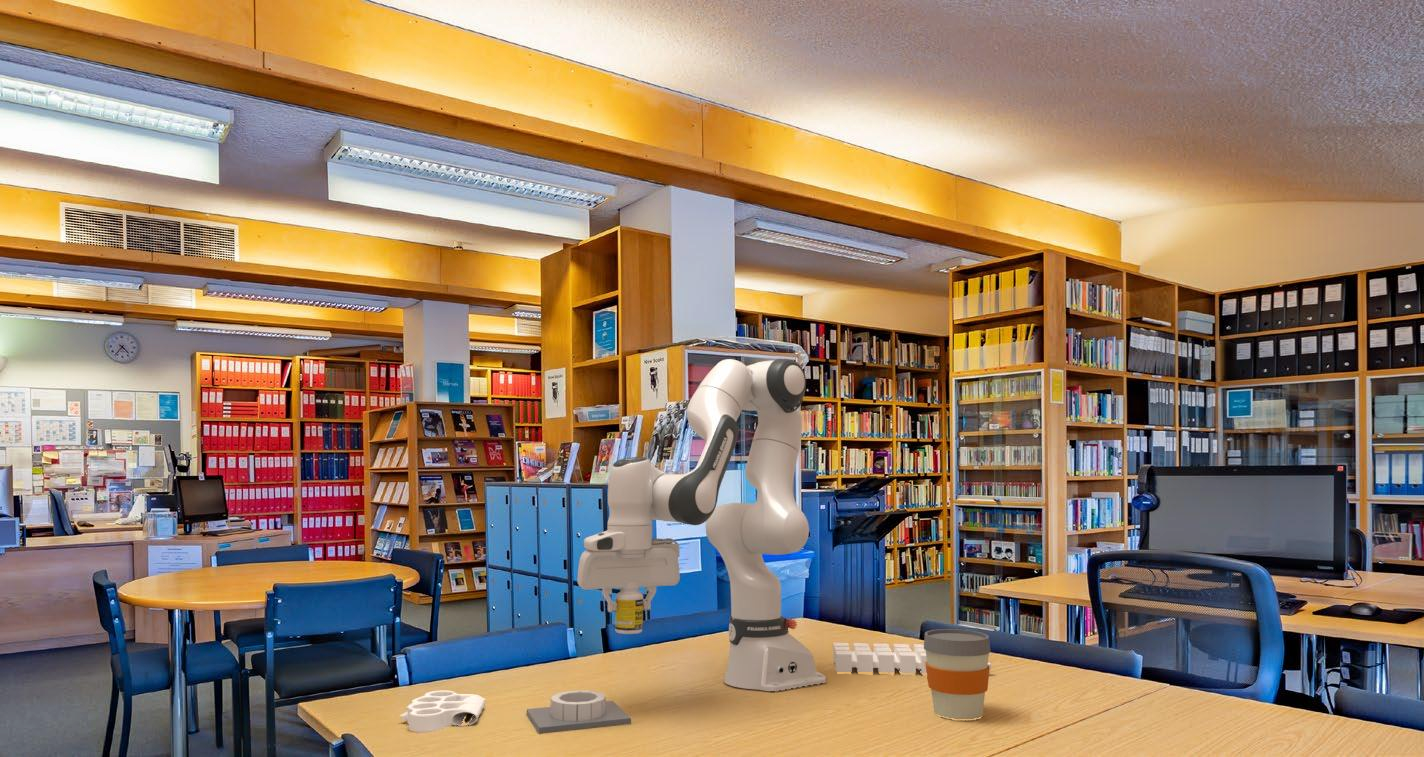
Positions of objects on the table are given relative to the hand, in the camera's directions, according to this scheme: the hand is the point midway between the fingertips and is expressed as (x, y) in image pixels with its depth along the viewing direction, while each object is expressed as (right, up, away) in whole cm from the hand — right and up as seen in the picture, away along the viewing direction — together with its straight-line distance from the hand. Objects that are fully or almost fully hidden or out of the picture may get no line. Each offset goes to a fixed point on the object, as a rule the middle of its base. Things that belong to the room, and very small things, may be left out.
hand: (629, 610), depth 177 cm
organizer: (+63, -23, +34) cm, 75 cm away
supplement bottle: (0, -4, -1) cm, 4 cm away
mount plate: (-9, -19, -7) cm, 22 cm away
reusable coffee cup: (+64, -19, -4) cm, 67 cm away
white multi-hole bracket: (-35, -19, -7) cm, 40 cm away
